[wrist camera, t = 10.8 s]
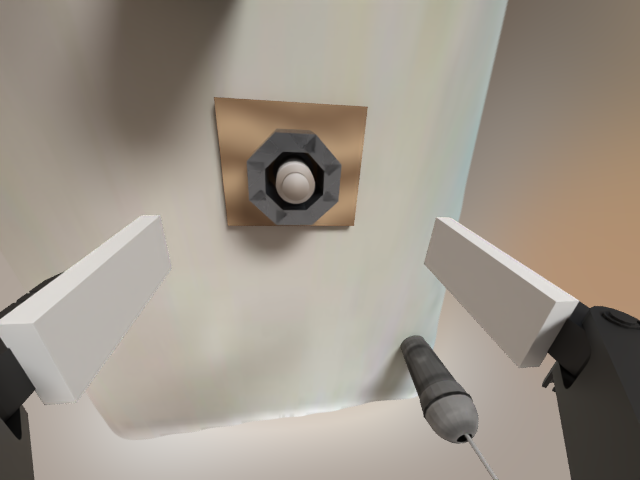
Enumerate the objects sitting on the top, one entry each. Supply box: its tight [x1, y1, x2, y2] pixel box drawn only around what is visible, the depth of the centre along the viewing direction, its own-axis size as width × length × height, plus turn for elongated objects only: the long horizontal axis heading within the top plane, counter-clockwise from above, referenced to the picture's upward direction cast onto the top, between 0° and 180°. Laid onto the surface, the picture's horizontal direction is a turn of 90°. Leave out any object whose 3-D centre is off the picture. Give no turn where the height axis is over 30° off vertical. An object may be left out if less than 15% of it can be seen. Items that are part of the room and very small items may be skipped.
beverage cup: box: [401, 336, 498, 480], centre depth 39 cm, size 7×7×20 cm
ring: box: [247, 128, 342, 225], centre depth 28 cm, size 9×9×6 cm
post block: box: [214, 97, 368, 226], centre depth 28 cm, size 14×16×9 cm
